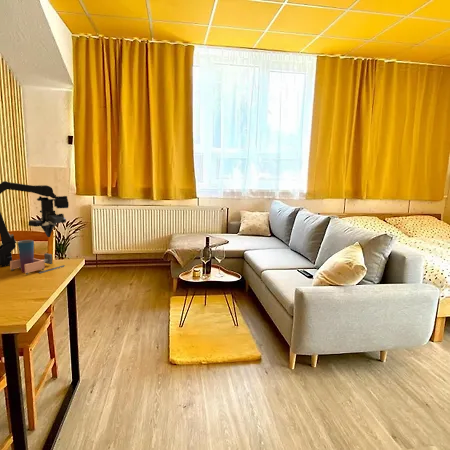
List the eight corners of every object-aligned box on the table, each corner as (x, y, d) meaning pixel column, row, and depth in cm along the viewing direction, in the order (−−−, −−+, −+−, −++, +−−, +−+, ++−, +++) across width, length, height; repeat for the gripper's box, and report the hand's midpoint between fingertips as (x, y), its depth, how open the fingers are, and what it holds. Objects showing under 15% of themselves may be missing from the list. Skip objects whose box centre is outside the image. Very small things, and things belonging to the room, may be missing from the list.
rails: (18, 268, 167) (18, 267, 167) (44, 261, 180) (44, 260, 180) (39, 273, 161) (39, 272, 160) (64, 266, 173) (64, 265, 173)
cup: (38, 269, 166) (37, 240, 164) (29, 273, 160) (27, 243, 157) (25, 268, 167) (24, 239, 165) (16, 272, 160) (14, 242, 158)
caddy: (42, 262, 177) (41, 252, 176) (57, 266, 171) (57, 255, 170) (10, 270, 162) (9, 259, 161) (26, 274, 157) (25, 263, 156)
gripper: (41, 211, 168) (42, 241, 170) (72, 208, 184) (73, 236, 187) (27, 209, 172) (28, 239, 175) (58, 206, 189) (59, 233, 191)
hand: (48, 237), depth 182 cm, fingers closed
